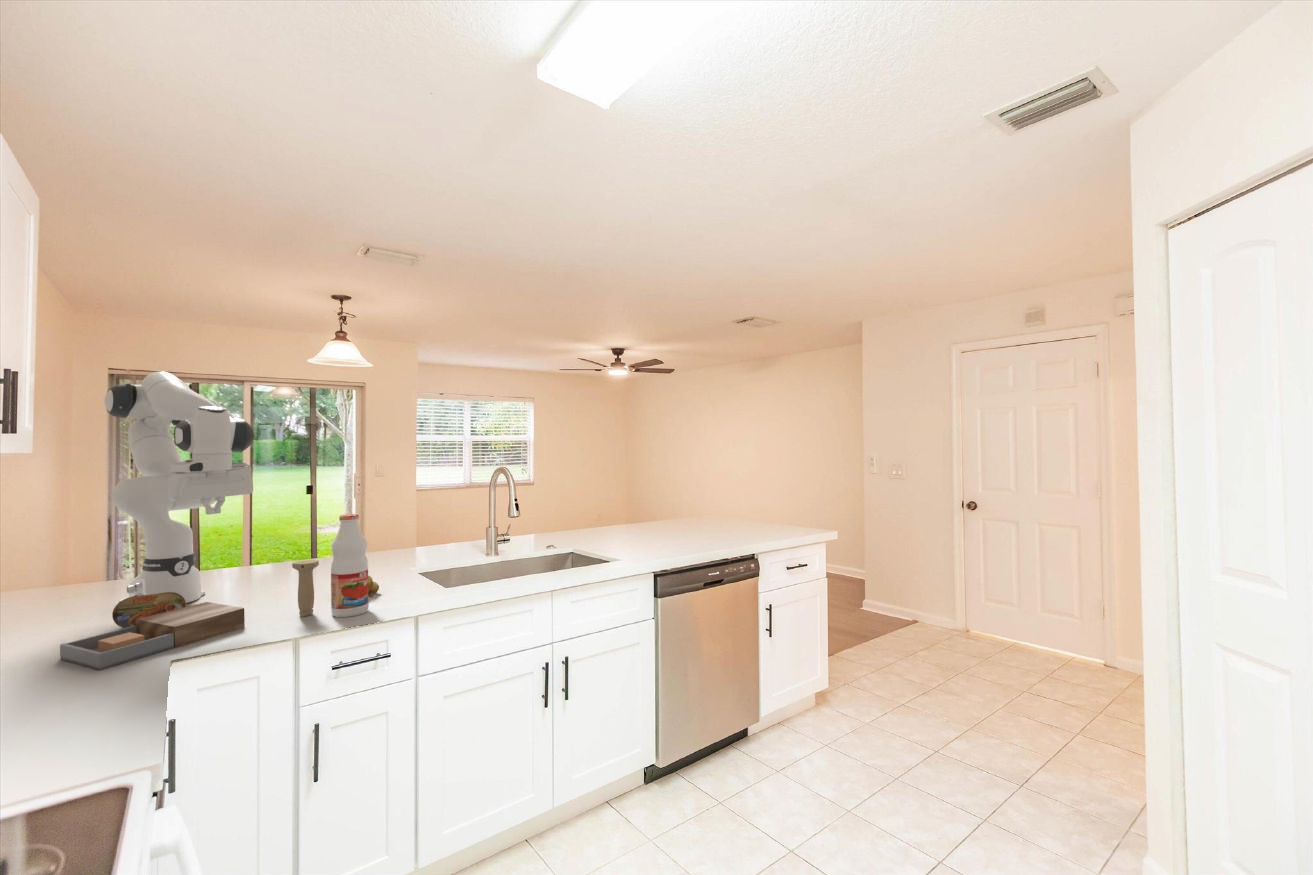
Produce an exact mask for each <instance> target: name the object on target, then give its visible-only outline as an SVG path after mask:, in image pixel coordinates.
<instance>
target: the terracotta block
mask: <svg viewBox="0 0 1313 875" xmlns="http://www.w3.org/2000/svg"><path fill="white" fill-rule="evenodd" d="M141 641H144V635H141V634H136V633H131V632H129V633H125V634H121V635H117V636H113V637H110V638H106V639H102V640H98V652H106V651H109V650H113V649H116V648H120V647H124V646H127V645H131V644H134V643H138V642H141Z"/></svg>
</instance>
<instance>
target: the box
mask: <svg viewBox="0 0 1313 875" xmlns="http://www.w3.org/2000/svg"><path fill="white" fill-rule="evenodd" d="M129 632H131V633H136V634H137V626H131V627H128V628H121V629H117V630H112V631H109V632H104V633H101V634H97V635H93V636H89V637H86V638H81V639H77V640H73V641H70V642H67V643H66V642H65V643H61V644H59V653H60V654H59V655H60V656H59V657H60V659H59V660H60V661H62V662H67V663H71V664H74V665H77V666H82V667H84V668H85V667H86V668H89V669H92V670H97V671H103V670H106V669H109V668H112V667H115V666H119V665H122V664H125V663H128V662H132V661H135V660H139V659H142V658H145V657H148V656H151V655H156V654H159V653H162V652H166V651H168V650H172V649H174V648H175V647H174V633H170V634H167V635H163V636H159V637H156V638H152V639H149V640H146V639H144V641H141V642H138V643H134V644H131V645H127V646H124V647H120V648H116V649H113V650H109V651H106V652H98V640H102V639H106V638H110V637H113V636H117V635H121V634H125V633H129Z"/></svg>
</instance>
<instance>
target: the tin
mask: <svg viewBox="0 0 1313 875" xmlns="http://www.w3.org/2000/svg"><path fill="white" fill-rule="evenodd" d="M128 597H129V596H128ZM125 598H126V597H125ZM184 607H187V603H186V601H185V599H184V598H183V596H181V595H180V594H178V593H175V592H165V593H157V594H149V595H140V596H133V597H129V598H126V599H124V600H122V601H121V602H119V601H118V603H117V604H116V605H115V606H114V608H113V610H112V615H111V616H112V620H113V622H114V624H116V625H117V627H120V628H121V629H124V628H128V627H131V626H136V619H139V618H143V617H147V616H152V615H156V614H160V613H164V612H168V611H172V610H176V609H180V608H184Z"/></svg>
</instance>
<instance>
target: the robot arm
mask: <svg viewBox="0 0 1313 875" xmlns="http://www.w3.org/2000/svg"><path fill="white" fill-rule="evenodd" d="M103 401H104V402H103V403H104V406H105V409H106V412H107V413H108V414H109V415H110V416H111V417H116V418H120V419H126V418H128V419H135V421H134V422H132V423H131V424H130V425H129V428H128V432H127V433H128V434H127V435H128V436H127V437H128V446H129V450H130V453H131V456H132V460H133V462H134V463H133V464H134V466H135V468H136V470H137V471H138V472H139V473H140V474H141V475H143V476H138V477H133V478H128V479H123V480H121V481H119V482H118V483H117V484H116V485H115V486H114V488H113V490H112V493H111V494H112V495H111V499H112V503H113V505H114V507H116V508H117V509H118V510H119V511H120V512H122V513H123V514H125V515H128V516H130V517H131V518H132V519H133V520H135V521H136V523H138V524H139V526H140V528H141V529H142V532H143V535H144V542H145V553H146V554H145V558H144V559H142V561H143V562H142V568H141V570H142V571H141V572H140V573H139V574H138V575H137V576H136V577H134V578H133V580H131V581H130V583H129V585H127V587H126V593H127V594H128V596H126V597H123V598H120V599H119V600H118V603H119V602H121V601H122V600H124V599H126V598H129V597H133V596H140V595H149V594H157V593H165V592H175V593H178V594H180V595H181V596H183V598H184V599H185V601H186V604H188V603H191V602H194V601H197V600H198V599H200V598H201V597H202V596H205V594H206V590H205V589H204V590H203V589H202V583H201V576H200V570H199V569H198V568H197V567H196V566H195V565H196V553H195V552H194V532H193V530H192V527H190V526H189V525H188V524H185V523H183V522H181V521H178V520H173V519H171V517H170V514H169V512H171V511H172V512H173V511H181V510H182V511H183V510H191V509H200V508H202V507H204V509H205V515H207V516H208V515H215V514H218V515H219V514H221V512H222V509H221V508H222V506H223V505H224V503H225V502H226V497H234V496H235V497H236V496H245V495H251V494H252V493H253V491H254V482H253V477H252V476H253V475H252V467H251V466H250V464H247V463H245V462H240V463H239V462H238V463H236V462H235V463H233V453H243V452H244V451H245V450H247V449H248V448H250V446H251V445H252V444H253V443H254V438H255V433H254V429H253V428H252V426H251V425H250V424H249V422H247V420H244V419H243V418H238V417H236V416H235V415H234V414H233V413H231V412H229V410H228V409H226V408H224V407H223V406H222V405H220V403H217V402H216V401H214V400H212V399H210V398H207V397H205V396H203V395H202V394H199V393H197V392H195V391H194V390H193V389H192V388H190V387H189V386H188V385H187V384H186V383H185V382H184V381H183V380H181V379H180V378H178V377H177V376H176V375H174V374H172V373H170V372H167V371H155V372H151V373H149V374H147V375H146V376H145V377H144V378H143V380H142V383H141V384H132V383H131V382H130V383H123V384H115V385H113V386H111V387H109V388H108V389H107V391H106V393H105V395H104V399H103ZM171 424H172V425H173V426H174V429H173V435H172V433H171V429H170V426H171ZM178 449H179V450H180V451H183V452H187V453H192V455H191V456H192V458H189V459H186V460H184V458H182V456H181V454H180V451H179V450H178ZM213 504H215V505H214V506H212V505H213Z"/></svg>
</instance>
